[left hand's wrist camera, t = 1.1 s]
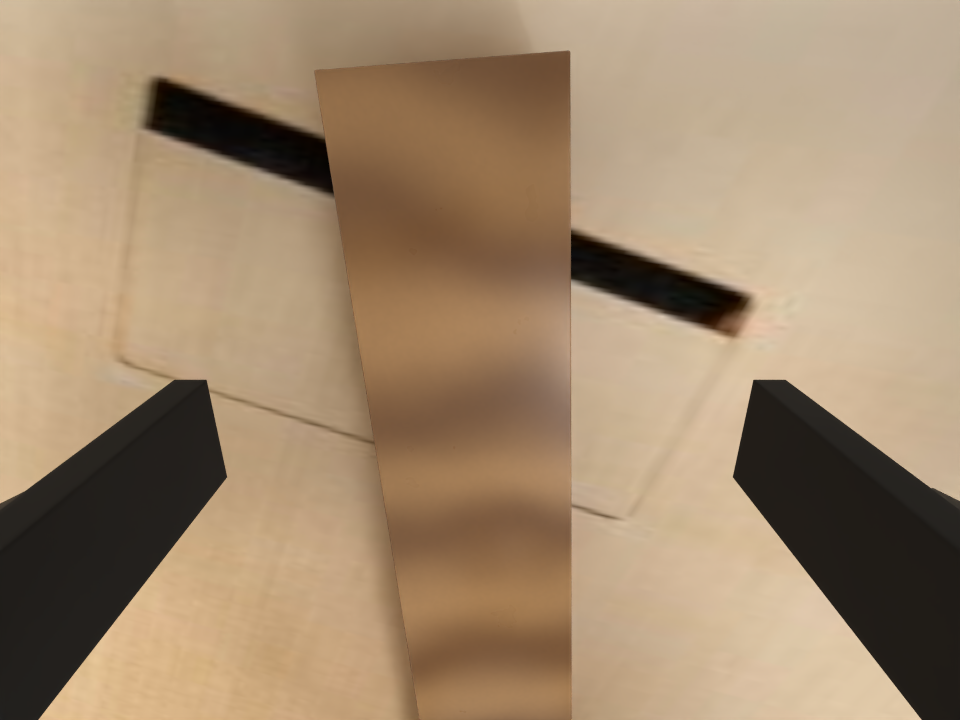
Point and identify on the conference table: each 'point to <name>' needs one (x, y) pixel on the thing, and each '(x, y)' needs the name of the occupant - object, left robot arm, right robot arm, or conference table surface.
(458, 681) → the brown wooden bar
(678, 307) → the conference table surface
